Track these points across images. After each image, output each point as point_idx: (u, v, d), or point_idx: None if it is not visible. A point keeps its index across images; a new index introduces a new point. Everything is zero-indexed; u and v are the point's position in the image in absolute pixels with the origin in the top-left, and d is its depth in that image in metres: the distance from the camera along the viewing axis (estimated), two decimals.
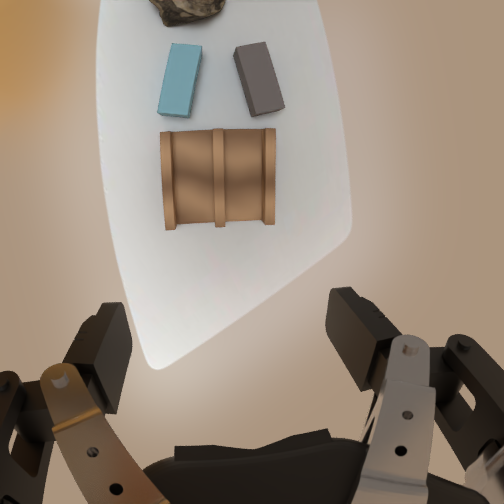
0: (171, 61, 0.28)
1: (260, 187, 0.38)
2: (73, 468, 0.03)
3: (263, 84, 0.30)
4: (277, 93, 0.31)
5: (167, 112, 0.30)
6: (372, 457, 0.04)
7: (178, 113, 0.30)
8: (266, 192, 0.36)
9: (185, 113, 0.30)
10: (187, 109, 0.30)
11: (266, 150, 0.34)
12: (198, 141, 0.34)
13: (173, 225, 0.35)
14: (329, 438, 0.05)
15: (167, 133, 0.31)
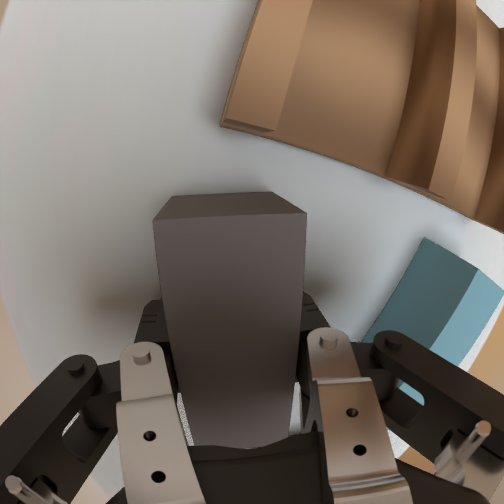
0: None
1: None
2: (123, 446, 0.04)
3: (232, 342, 0.08)
4: (179, 296, 0.07)
5: (495, 286, 0.10)
6: (372, 457, 0.04)
7: (486, 278, 0.09)
8: None
9: (478, 275, 0.09)
10: (471, 284, 0.09)
11: (298, 33, 0.06)
12: None
13: None
14: None
15: None
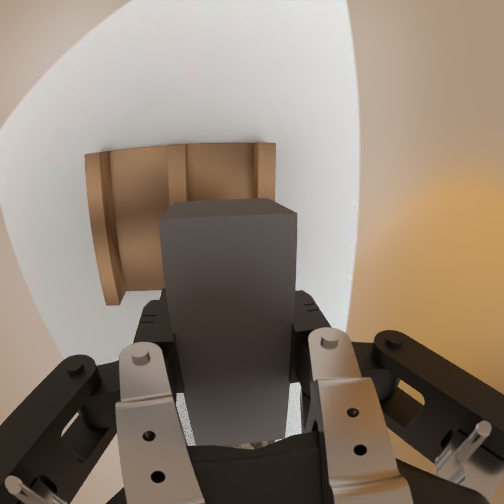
0: None
1: (115, 205, 0.22)
2: (122, 446, 0.04)
3: (231, 334, 0.08)
4: (181, 290, 0.08)
5: None
6: (372, 457, 0.04)
7: None
8: (102, 209, 0.19)
9: None
10: None
11: (112, 274, 0.21)
12: None
13: (260, 149, 0.19)
14: None
15: None
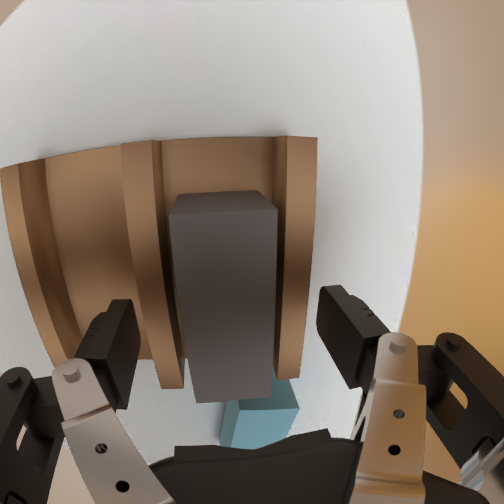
0: None
1: (58, 242, 0.13)
2: (80, 463, 0.03)
3: (225, 304, 0.11)
4: (186, 269, 0.10)
5: (279, 410, 0.15)
6: (372, 457, 0.04)
7: (257, 410, 0.15)
8: (30, 256, 0.10)
9: (243, 412, 0.15)
10: (240, 416, 0.15)
11: (61, 348, 0.12)
12: None
13: (291, 149, 0.11)
14: (329, 438, 0.05)
15: (283, 377, 0.15)
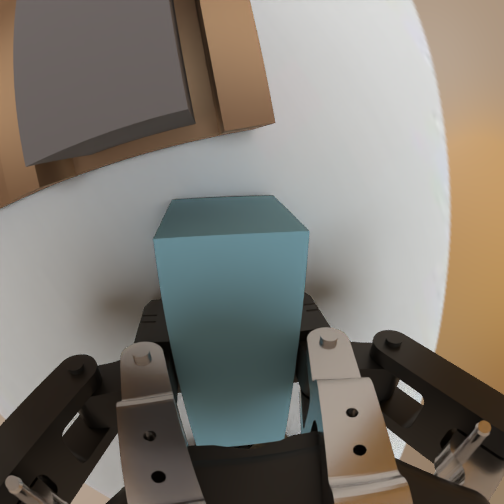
0: (276, 409, 0.09)
1: None
2: (123, 445, 0.04)
3: None
4: None
5: (258, 237, 0.07)
6: (372, 457, 0.04)
7: (201, 240, 0.07)
8: None
9: (165, 246, 0.07)
10: (162, 266, 0.07)
11: None
12: None
13: None
14: None
15: (235, 119, 0.06)
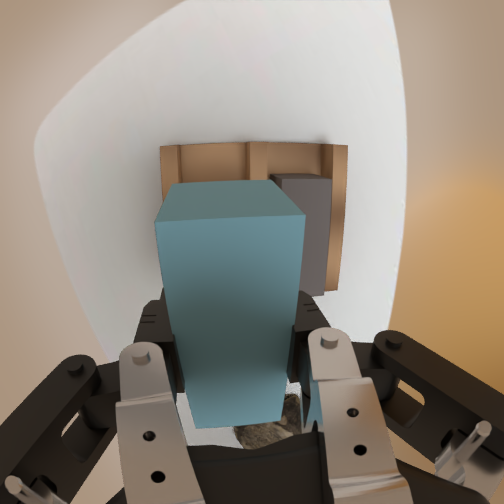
0: (273, 389, 0.10)
1: None
2: (123, 446, 0.04)
3: (305, 228, 0.20)
4: None
5: (256, 220, 0.07)
6: (372, 457, 0.04)
7: (200, 223, 0.07)
8: None
9: (166, 229, 0.07)
10: (163, 248, 0.07)
11: None
12: None
13: (335, 151, 0.20)
14: None
15: (328, 288, 0.24)
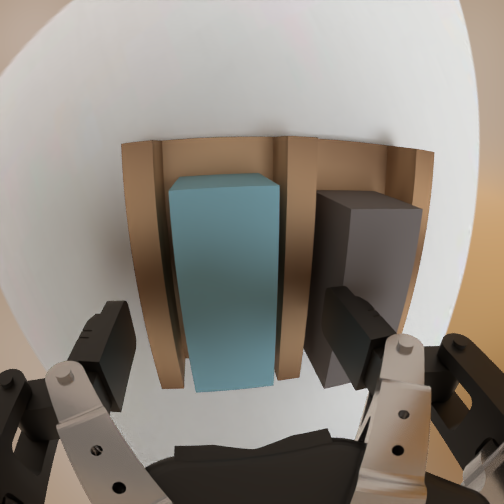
0: (264, 347, 0.12)
1: (171, 233, 0.14)
2: (76, 466, 0.03)
3: (376, 289, 0.12)
4: (356, 258, 0.11)
5: (242, 189, 0.09)
6: (372, 457, 0.04)
7: (202, 191, 0.09)
8: (157, 247, 0.11)
9: (177, 196, 0.09)
10: (173, 211, 0.09)
11: (173, 349, 0.13)
12: None
13: (418, 160, 0.11)
14: (329, 438, 0.05)
15: None
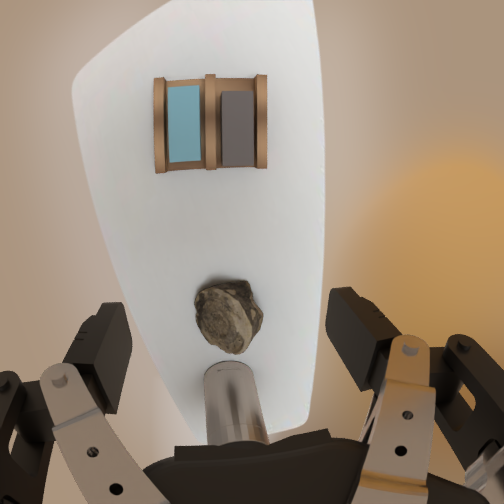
0: (195, 139, 0.31)
1: (167, 112, 0.33)
2: (73, 468, 0.03)
3: (237, 119, 0.31)
4: (225, 106, 0.30)
5: (188, 86, 0.29)
6: (372, 457, 0.04)
7: (177, 87, 0.29)
8: (162, 109, 0.31)
9: (170, 88, 0.29)
10: (169, 93, 0.29)
11: (163, 150, 0.33)
12: None
13: (258, 78, 0.31)
14: (329, 438, 0.05)
15: (259, 166, 0.35)
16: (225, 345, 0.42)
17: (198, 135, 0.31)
